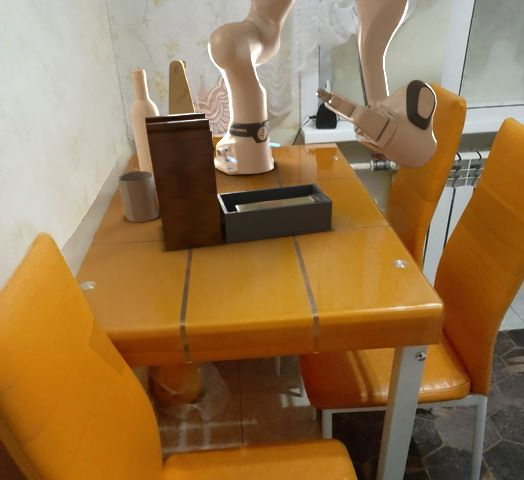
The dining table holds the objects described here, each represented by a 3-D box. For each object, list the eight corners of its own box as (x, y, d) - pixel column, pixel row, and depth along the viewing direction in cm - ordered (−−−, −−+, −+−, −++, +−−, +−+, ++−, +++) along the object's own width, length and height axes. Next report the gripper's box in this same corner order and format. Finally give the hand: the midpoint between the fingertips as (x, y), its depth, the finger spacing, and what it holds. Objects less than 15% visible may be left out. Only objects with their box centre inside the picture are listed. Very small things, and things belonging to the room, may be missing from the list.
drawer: (316, 213, 121) (316, 194, 118) (322, 220, 117) (322, 200, 114) (236, 223, 118) (234, 204, 115) (239, 231, 114) (238, 211, 111)
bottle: (141, 182, 148) (120, 69, 130) (167, 179, 150) (150, 67, 132) (144, 190, 142) (123, 72, 124) (171, 187, 144) (154, 70, 126)
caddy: (186, 143, 184) (175, 50, 166) (214, 142, 183) (206, 49, 166) (172, 166, 161) (157, 61, 143) (204, 165, 160) (193, 59, 142)
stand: (213, 221, 121) (202, 109, 106) (222, 244, 110) (211, 122, 95) (162, 227, 119) (144, 114, 104) (166, 250, 108) (145, 128, 93)
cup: (147, 207, 131) (140, 169, 125) (165, 214, 126) (159, 175, 120) (120, 216, 126) (111, 177, 120) (137, 224, 121) (129, 183, 115)
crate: (313, 210, 125) (314, 183, 121) (331, 230, 114) (332, 201, 110) (218, 221, 121) (216, 193, 117) (227, 243, 110) (224, 213, 106)
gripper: (364, 103, 116) (317, 73, 110) (402, 121, 100) (348, 87, 94) (350, 129, 118) (303, 101, 113) (384, 150, 102) (331, 119, 96)
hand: (324, 95), depth 103 cm, fingers open, 8 cm apart
